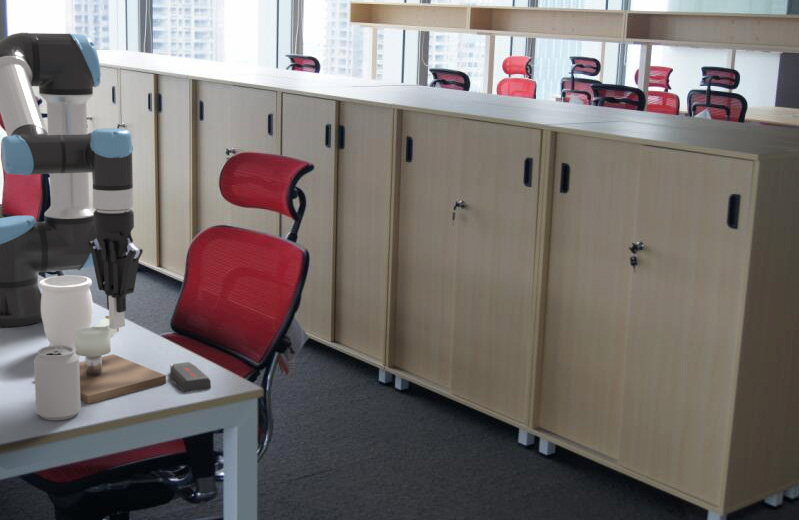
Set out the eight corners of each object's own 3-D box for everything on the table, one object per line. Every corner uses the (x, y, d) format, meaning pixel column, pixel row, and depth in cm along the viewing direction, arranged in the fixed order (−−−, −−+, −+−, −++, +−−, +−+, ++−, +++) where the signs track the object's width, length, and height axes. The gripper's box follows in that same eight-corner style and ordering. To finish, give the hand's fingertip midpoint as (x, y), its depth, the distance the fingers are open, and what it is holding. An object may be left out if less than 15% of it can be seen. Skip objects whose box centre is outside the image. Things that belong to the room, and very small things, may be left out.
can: (29, 421, 182) (26, 355, 180) (45, 405, 190) (43, 342, 187) (72, 423, 182) (69, 357, 179) (86, 407, 189) (84, 344, 187)
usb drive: (184, 393, 199) (184, 379, 198) (165, 374, 209) (165, 361, 209) (210, 389, 202) (210, 376, 201) (191, 371, 212) (190, 358, 211)
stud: (82, 373, 203) (82, 352, 202) (96, 370, 205) (95, 349, 204) (91, 377, 201) (90, 356, 200) (105, 373, 203) (104, 353, 202)
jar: (78, 359, 216) (76, 288, 212) (32, 354, 218) (29, 284, 214) (103, 344, 226) (101, 276, 223) (58, 340, 228) (56, 272, 225)
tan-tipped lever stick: (104, 357, 199) (104, 337, 198) (71, 355, 199) (70, 335, 198) (129, 332, 215) (129, 313, 214) (98, 331, 215) (98, 312, 214)
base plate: (37, 379, 203) (36, 372, 202) (113, 361, 215) (113, 354, 215) (88, 403, 191) (88, 396, 191) (166, 382, 204) (165, 375, 203)
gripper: (152, 211, 203) (154, 328, 208) (104, 203, 209) (108, 317, 214) (122, 216, 196) (126, 337, 202) (75, 208, 203) (79, 325, 208)
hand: (117, 326), depth 208 cm, fingers closed
